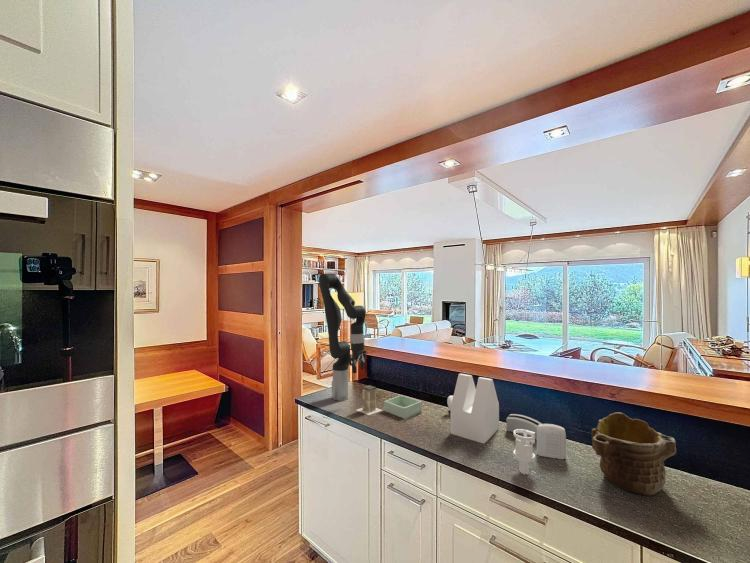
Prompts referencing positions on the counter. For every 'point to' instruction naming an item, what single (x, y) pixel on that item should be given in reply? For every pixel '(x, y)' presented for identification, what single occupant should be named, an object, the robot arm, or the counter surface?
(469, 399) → the white notched block
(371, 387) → the strut
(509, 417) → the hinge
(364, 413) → the stud base
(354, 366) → the robot arm
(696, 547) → the counter surface
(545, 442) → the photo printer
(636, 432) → the ceramic vessel
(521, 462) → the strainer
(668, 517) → the counter surface
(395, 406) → the bin
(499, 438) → the counter surface
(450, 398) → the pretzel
